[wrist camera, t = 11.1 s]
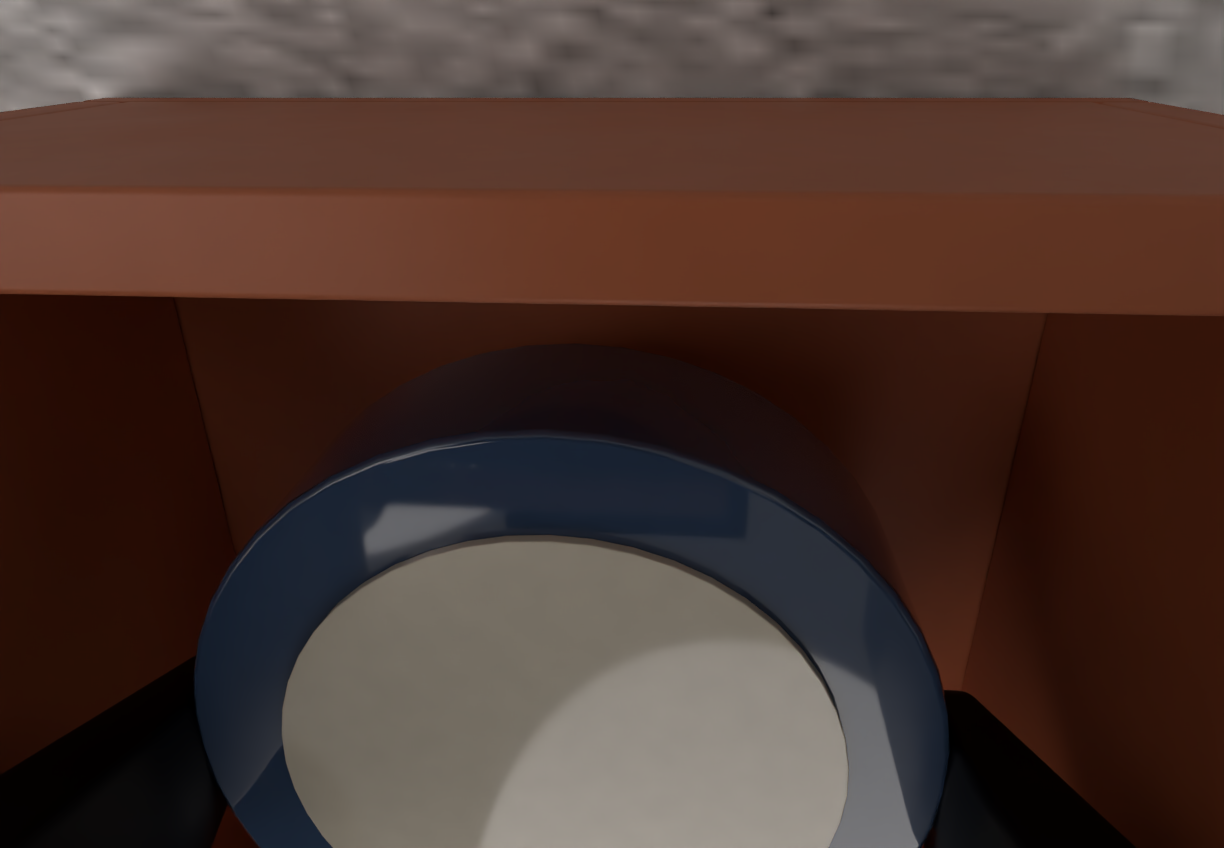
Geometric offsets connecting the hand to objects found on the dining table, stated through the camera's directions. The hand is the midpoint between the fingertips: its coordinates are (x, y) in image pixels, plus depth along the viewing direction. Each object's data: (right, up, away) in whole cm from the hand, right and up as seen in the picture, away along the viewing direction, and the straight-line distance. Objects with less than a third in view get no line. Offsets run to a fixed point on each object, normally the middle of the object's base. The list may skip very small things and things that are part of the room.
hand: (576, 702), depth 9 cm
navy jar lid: (0, +1, +1) cm, 1 cm away
